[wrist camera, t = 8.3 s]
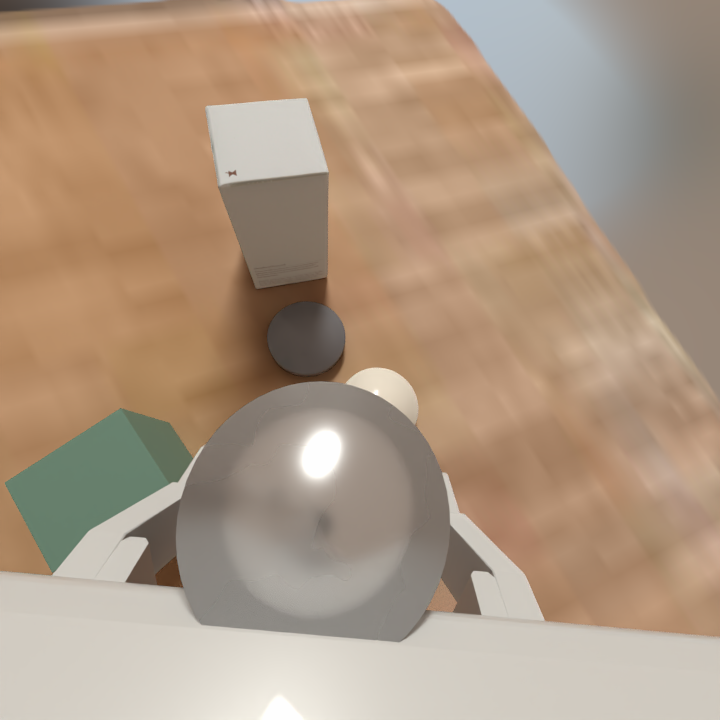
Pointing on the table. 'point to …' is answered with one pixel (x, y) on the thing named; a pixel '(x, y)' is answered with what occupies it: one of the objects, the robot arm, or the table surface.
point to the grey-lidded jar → (314, 517)
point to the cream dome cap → (388, 389)
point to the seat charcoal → (306, 338)
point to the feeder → (96, 479)
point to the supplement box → (273, 187)
